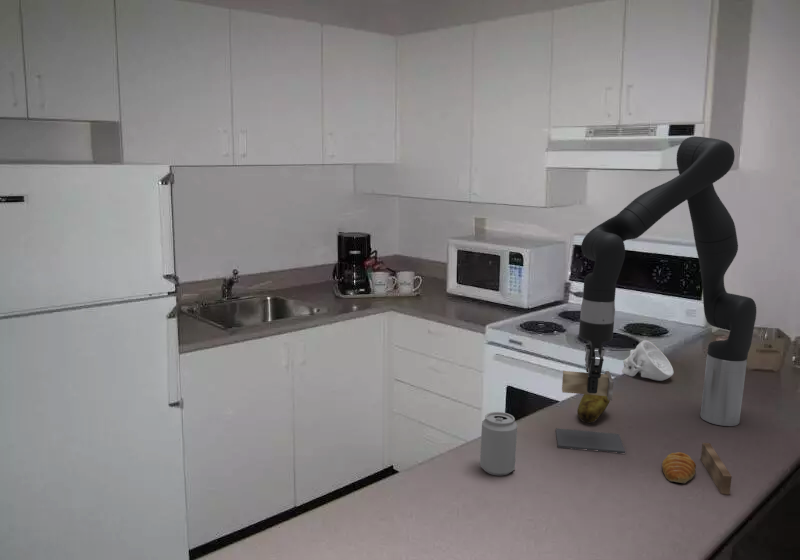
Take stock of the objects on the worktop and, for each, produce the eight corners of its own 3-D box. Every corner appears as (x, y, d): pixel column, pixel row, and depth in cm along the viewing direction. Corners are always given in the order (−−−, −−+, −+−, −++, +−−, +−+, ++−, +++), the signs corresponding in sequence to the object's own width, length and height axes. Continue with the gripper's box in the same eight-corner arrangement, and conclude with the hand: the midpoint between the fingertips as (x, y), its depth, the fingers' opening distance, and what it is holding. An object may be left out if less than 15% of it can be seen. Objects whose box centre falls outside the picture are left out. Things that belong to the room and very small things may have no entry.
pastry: (694, 489, 138) (696, 471, 137) (659, 482, 141) (660, 465, 140) (695, 470, 147) (697, 453, 146) (662, 464, 149) (664, 447, 149)
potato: (563, 417, 174) (565, 388, 172) (593, 407, 182) (595, 378, 180) (590, 428, 167) (593, 397, 166) (620, 416, 175) (622, 387, 174)
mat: (555, 430, 165) (555, 428, 165) (618, 436, 163) (619, 433, 163) (557, 447, 156) (558, 445, 156) (625, 453, 153) (625, 451, 153)
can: (517, 464, 147) (520, 412, 144) (511, 480, 140) (514, 425, 138) (483, 458, 149) (486, 407, 147) (476, 473, 142) (478, 420, 140)
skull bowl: (625, 361, 218) (647, 335, 211) (658, 393, 211) (683, 366, 205) (609, 368, 210) (633, 340, 204) (644, 401, 204) (669, 373, 197)
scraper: (563, 396, 154) (564, 377, 153) (561, 385, 162) (562, 367, 161) (611, 400, 152) (613, 381, 152) (607, 388, 160) (609, 370, 159)
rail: (700, 459, 151) (702, 442, 151) (708, 460, 151) (710, 443, 150) (721, 493, 136) (723, 475, 135) (729, 494, 136) (731, 476, 135)
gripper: (618, 327, 146) (611, 402, 150) (610, 312, 160) (604, 382, 163) (583, 324, 148) (577, 399, 151) (577, 310, 161) (572, 379, 164)
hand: (591, 390), depth 157 cm, fingers closed on scraper, 2 cm apart
